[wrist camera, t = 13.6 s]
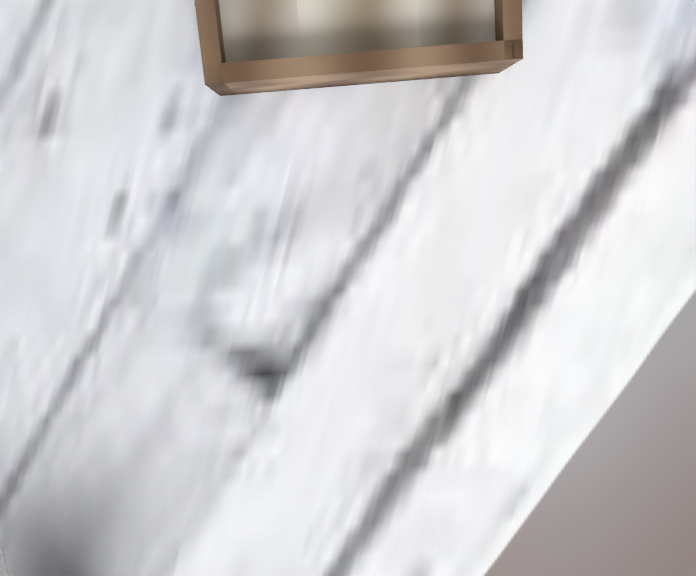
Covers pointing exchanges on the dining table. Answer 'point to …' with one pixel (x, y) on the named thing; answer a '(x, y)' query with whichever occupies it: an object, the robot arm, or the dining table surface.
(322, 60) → the socket box
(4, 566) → the robot arm
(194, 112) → the dining table surface
